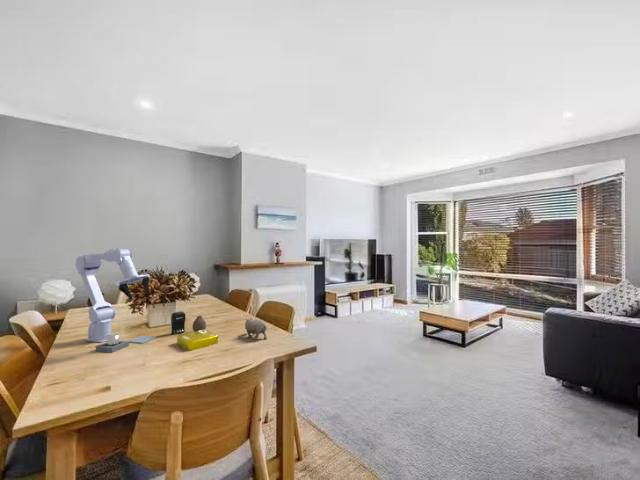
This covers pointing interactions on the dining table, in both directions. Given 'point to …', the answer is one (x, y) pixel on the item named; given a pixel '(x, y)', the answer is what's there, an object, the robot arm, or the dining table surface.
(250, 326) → the rhinoceros figurine
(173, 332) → the battery charger
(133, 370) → the dining table surface
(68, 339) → the dining table surface
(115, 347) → the frame
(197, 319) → the vase
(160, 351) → the dining table surface
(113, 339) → the shiny metal cylinder
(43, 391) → the dining table surface
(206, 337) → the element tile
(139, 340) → the mat
